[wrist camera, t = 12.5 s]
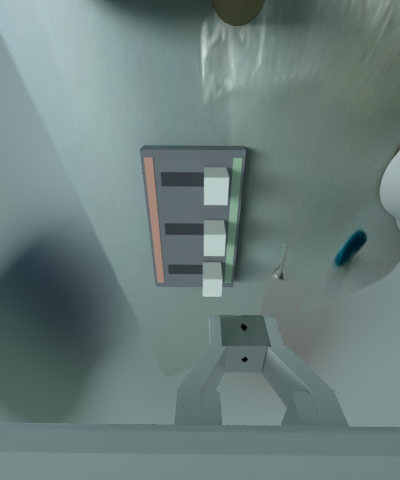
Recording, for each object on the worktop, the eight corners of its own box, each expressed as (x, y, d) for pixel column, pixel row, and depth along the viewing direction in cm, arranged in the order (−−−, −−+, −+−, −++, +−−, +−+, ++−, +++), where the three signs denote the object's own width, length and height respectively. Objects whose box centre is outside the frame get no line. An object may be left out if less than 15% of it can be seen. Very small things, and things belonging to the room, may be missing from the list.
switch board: (243, 146, 35) (246, 150, 33) (231, 278, 48) (232, 287, 46) (143, 145, 35) (139, 149, 33) (158, 277, 48) (155, 286, 46)
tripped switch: (223, 220, 38) (226, 234, 35) (222, 240, 40) (224, 256, 37) (203, 219, 38) (204, 234, 35) (203, 240, 40) (203, 256, 37)
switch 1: (226, 167, 34) (229, 177, 30) (224, 192, 36) (227, 205, 32) (204, 167, 34) (204, 177, 30) (203, 192, 36) (203, 205, 32)
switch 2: (220, 262, 43) (222, 279, 39) (219, 278, 44) (221, 296, 41) (202, 262, 43) (202, 279, 39) (202, 278, 44) (202, 296, 41)
